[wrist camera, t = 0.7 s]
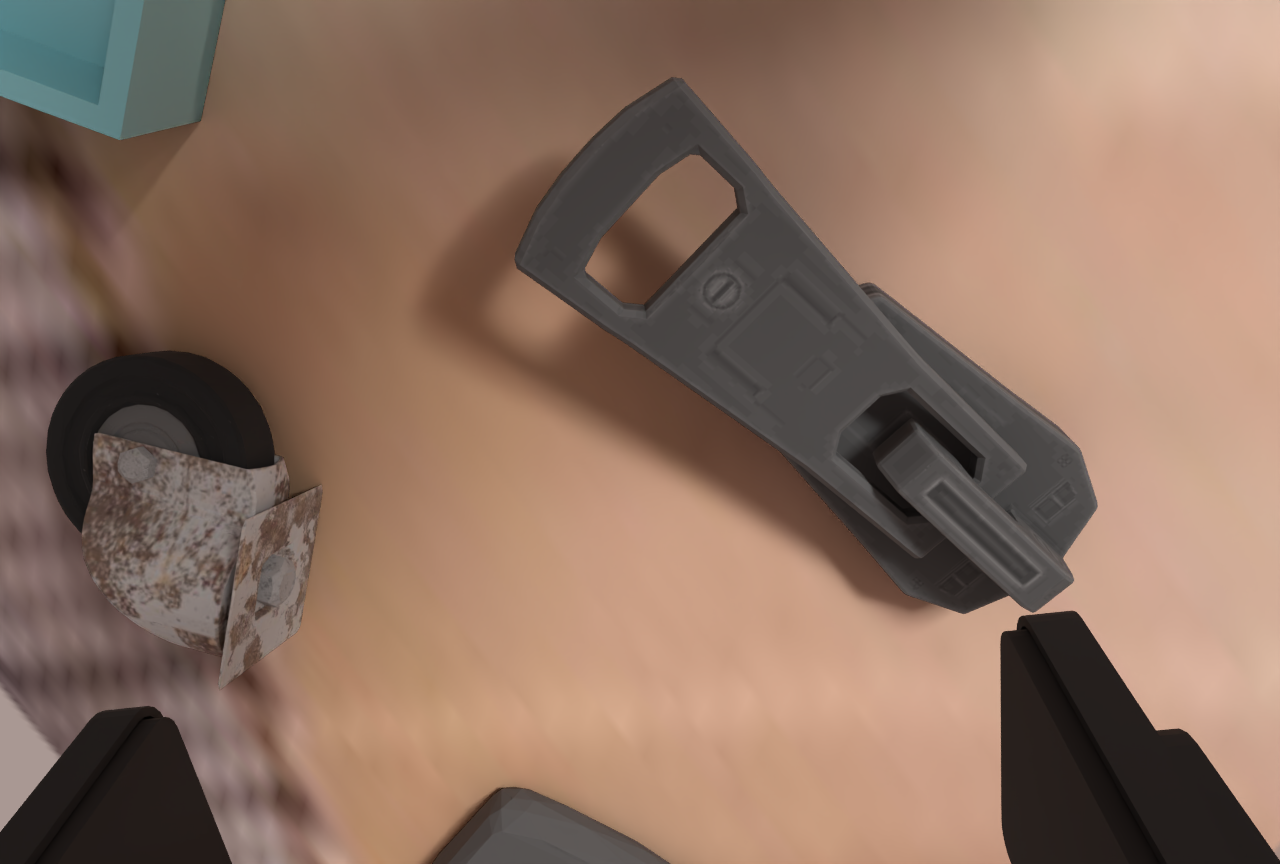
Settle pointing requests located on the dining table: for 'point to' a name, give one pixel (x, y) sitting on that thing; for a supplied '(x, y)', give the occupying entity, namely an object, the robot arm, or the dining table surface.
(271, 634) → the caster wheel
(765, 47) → the dining table surface
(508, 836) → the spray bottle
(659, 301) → the zipper pull
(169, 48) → the bin
